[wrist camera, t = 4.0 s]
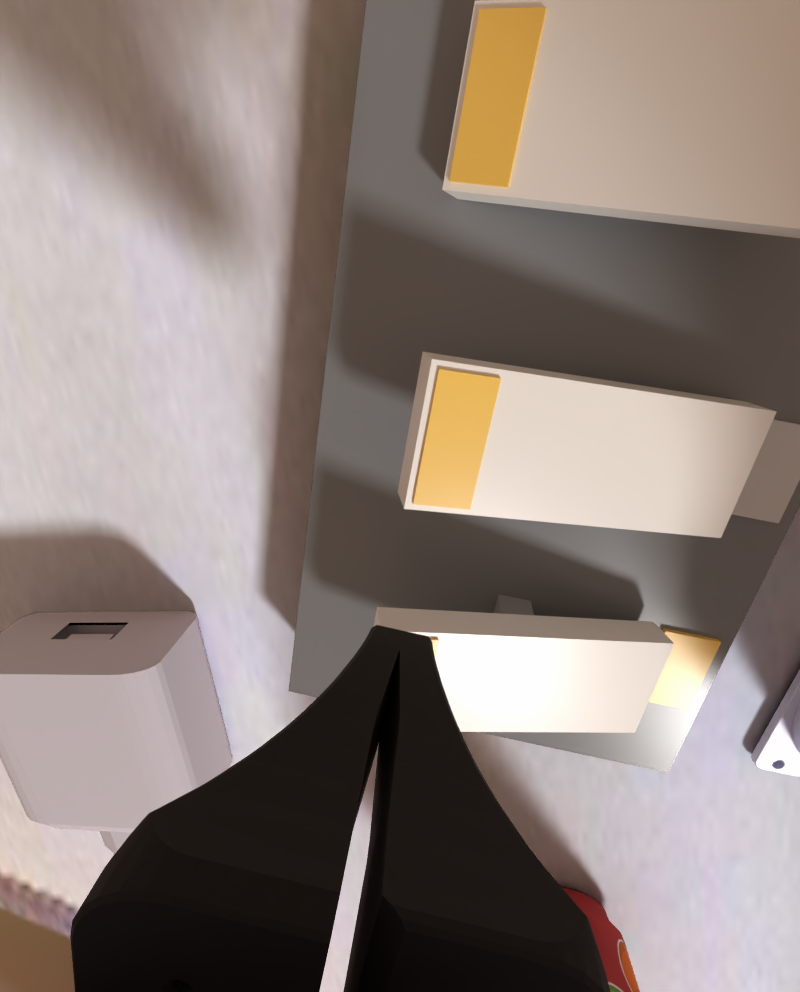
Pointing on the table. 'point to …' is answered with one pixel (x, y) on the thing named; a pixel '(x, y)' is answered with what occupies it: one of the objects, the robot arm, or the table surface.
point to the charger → (107, 717)
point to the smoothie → (607, 944)
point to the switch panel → (538, 345)
